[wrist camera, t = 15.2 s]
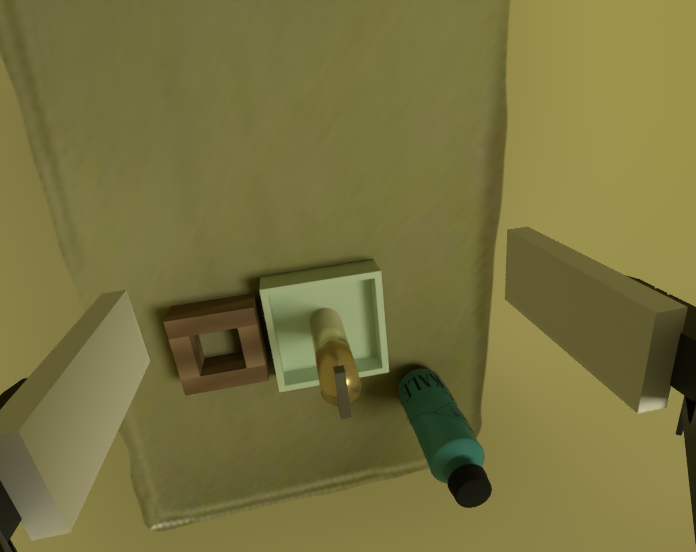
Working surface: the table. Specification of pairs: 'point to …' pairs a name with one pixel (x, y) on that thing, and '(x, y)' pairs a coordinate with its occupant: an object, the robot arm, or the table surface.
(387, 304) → the table surface
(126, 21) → the table surface
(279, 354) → the tray
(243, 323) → the block
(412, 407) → the beverage bottle
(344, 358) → the amber rounded cylinder
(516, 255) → the robot arm
